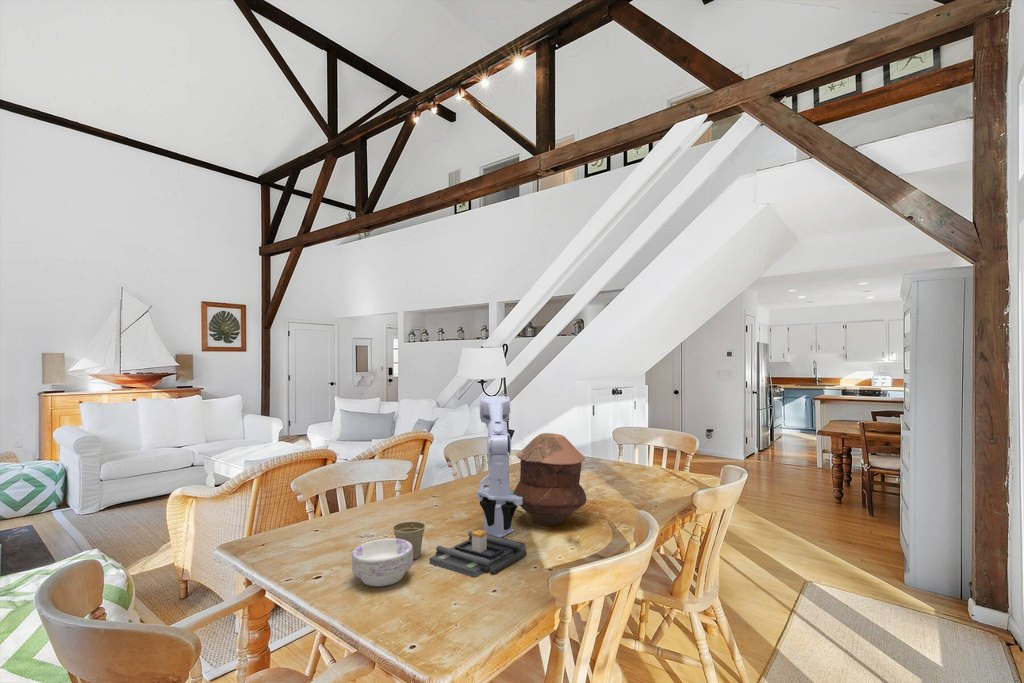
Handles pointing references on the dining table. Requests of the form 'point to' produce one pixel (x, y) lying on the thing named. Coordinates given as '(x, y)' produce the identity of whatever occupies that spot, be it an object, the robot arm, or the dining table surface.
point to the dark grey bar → (502, 542)
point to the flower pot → (411, 534)
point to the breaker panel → (493, 553)
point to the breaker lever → (479, 541)
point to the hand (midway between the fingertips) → (498, 527)
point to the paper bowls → (382, 561)
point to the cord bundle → (480, 560)
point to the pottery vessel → (550, 479)
